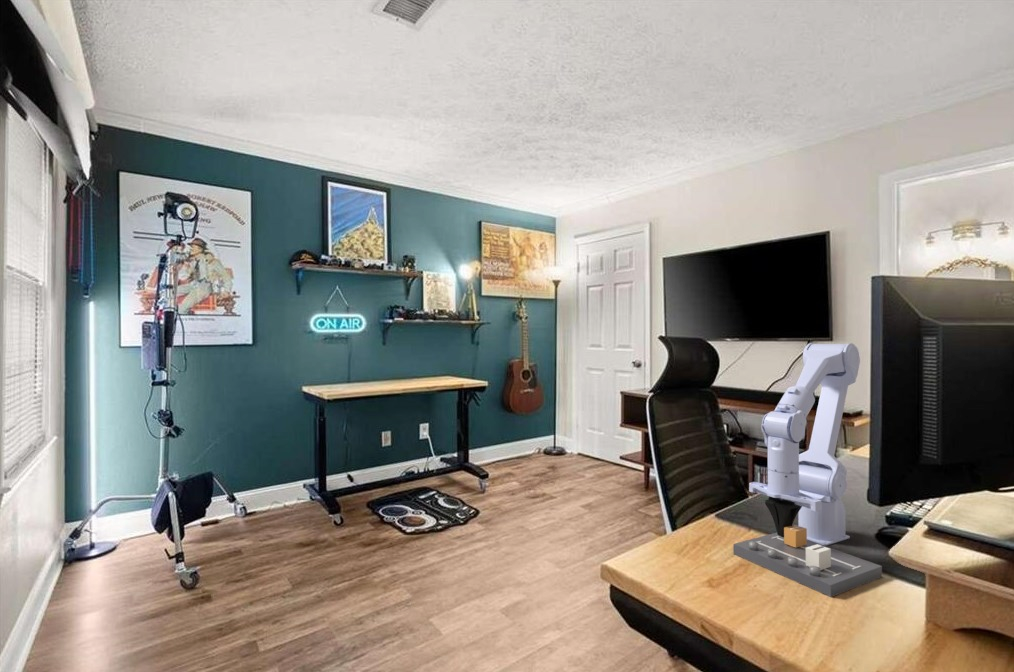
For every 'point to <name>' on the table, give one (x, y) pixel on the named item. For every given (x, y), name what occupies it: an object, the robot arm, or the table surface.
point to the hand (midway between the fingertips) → (783, 535)
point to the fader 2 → (818, 556)
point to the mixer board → (793, 566)
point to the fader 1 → (795, 536)
